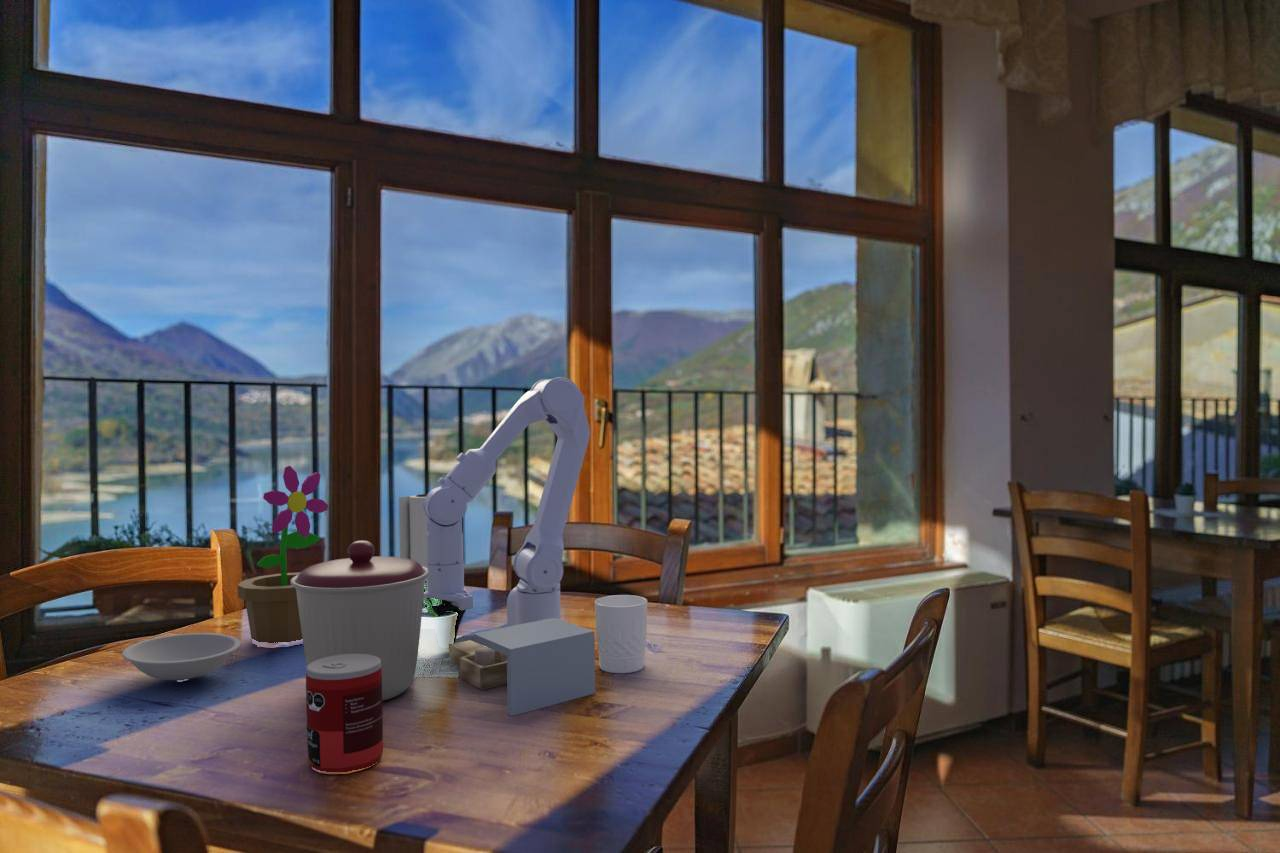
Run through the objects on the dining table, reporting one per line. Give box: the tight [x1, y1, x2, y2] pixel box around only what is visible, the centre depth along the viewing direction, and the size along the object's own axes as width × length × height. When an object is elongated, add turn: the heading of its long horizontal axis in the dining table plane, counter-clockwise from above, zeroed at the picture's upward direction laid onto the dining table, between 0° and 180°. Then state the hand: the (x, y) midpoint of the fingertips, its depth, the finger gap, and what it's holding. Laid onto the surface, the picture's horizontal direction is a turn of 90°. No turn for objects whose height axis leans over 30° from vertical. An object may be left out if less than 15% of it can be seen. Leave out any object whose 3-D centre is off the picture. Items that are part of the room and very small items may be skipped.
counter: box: [472, 618, 596, 717], centre depth 114 cm, size 10×13×8 cm
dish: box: [121, 632, 241, 681], centre depth 122 cm, size 18×14×5 cm
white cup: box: [594, 594, 648, 674], centre depth 126 cm, size 8×8×10 cm
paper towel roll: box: [398, 493, 429, 582], centre depth 175 cm, size 7×6×21 cm
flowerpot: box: [237, 465, 329, 643], centre depth 144 cm, size 14×14×30 cm
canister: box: [290, 540, 430, 702], centre depth 116 cm, size 18×18×21 cm
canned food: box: [305, 654, 384, 772], centre depth 93 cm, size 8×8×11 cm
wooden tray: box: [448, 639, 507, 691], centre depth 126 cm, size 16×9×4 cm, turn 39°
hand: (446, 646), depth 135 cm, fingers closed
